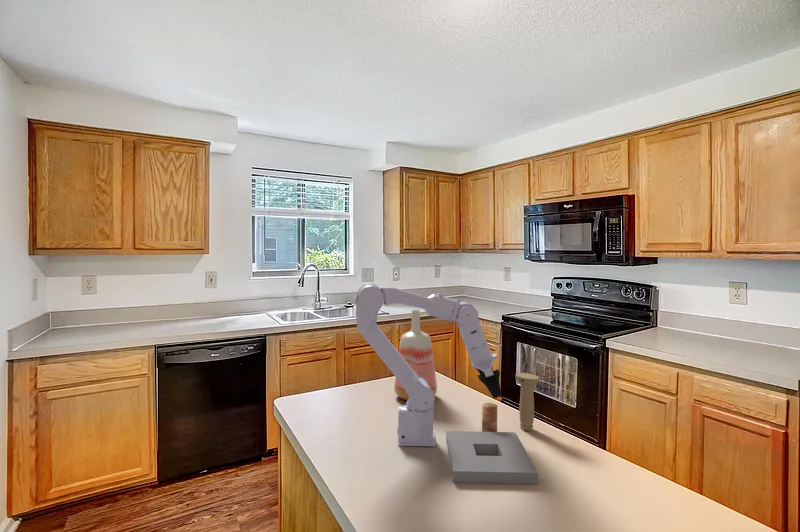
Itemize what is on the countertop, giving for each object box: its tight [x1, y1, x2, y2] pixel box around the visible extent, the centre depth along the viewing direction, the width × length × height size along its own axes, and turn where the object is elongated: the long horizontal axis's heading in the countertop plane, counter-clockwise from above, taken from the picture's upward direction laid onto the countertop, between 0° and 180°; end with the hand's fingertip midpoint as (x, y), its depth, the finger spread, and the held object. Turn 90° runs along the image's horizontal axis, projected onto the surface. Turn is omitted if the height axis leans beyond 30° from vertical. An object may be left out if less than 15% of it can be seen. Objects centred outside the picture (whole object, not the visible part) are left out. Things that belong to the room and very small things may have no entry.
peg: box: [481, 402, 498, 432], centre depth 113 cm, size 4×4×8 cm
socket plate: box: [445, 430, 539, 485], centre depth 100 cm, size 18×20×2 cm
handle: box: [515, 372, 540, 432], centre depth 117 cm, size 5×6×15 cm
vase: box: [393, 309, 438, 402], centre depth 142 cm, size 14×14×30 cm
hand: (494, 390), depth 112 cm, fingers open, 7 cm apart
